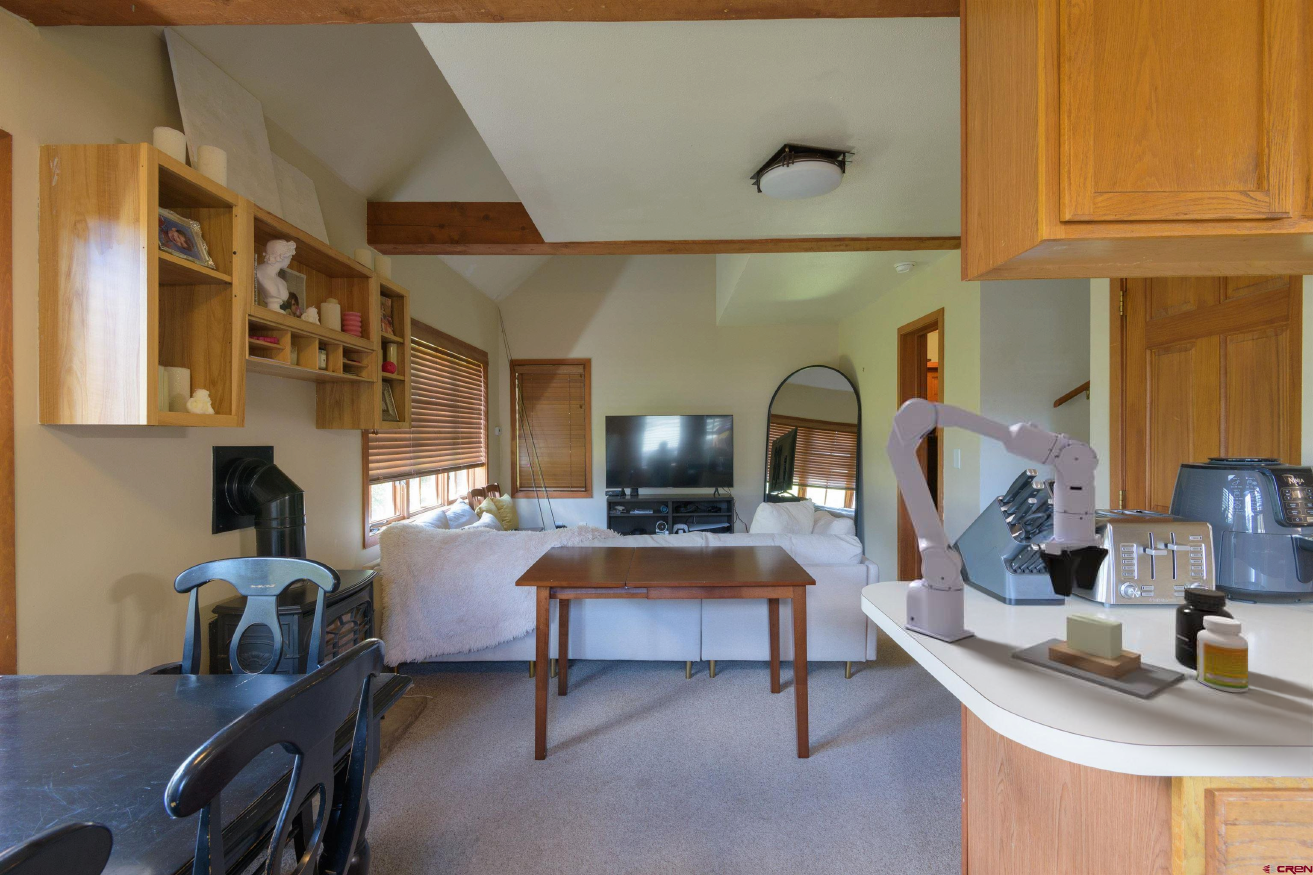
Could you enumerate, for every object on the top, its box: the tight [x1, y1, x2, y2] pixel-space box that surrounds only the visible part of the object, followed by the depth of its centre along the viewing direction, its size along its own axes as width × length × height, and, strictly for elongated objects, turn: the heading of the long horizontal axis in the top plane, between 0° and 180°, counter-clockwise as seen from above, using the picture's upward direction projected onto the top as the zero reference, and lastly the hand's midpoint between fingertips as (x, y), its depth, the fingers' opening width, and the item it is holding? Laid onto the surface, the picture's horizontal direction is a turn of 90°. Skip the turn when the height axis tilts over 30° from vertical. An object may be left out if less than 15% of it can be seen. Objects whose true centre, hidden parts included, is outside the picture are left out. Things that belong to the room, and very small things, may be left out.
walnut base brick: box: [1049, 640, 1142, 680], centre depth 92 cm, size 9×9×2 cm
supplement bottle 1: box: [1174, 587, 1235, 671], centre depth 92 cm, size 7×7×12 cm
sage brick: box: [1066, 612, 1123, 660], centre depth 92 cm, size 6×4×5 cm, turn 31°
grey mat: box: [1011, 637, 1185, 700], centre depth 92 cm, size 18×14×1 cm
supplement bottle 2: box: [1196, 616, 1249, 693], centre depth 85 cm, size 5×5×10 cm
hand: (1073, 591), depth 98 cm, fingers open, 7 cm apart
